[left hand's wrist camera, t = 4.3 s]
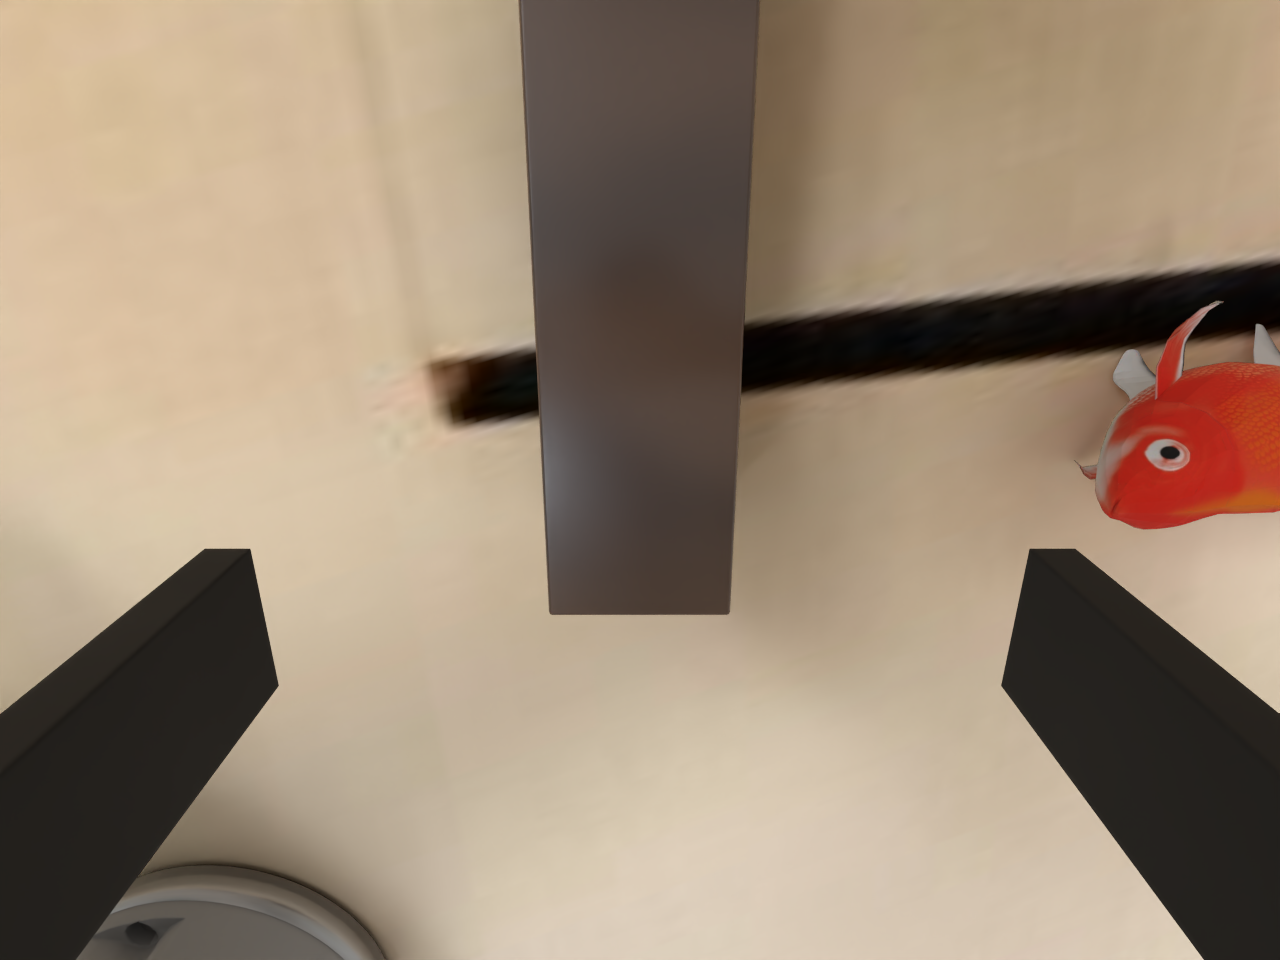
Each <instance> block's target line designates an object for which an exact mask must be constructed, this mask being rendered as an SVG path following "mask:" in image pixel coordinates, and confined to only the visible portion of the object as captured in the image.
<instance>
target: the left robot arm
mask: <svg viewBox="0 0 1280 960" xmlns="http://www.w3.org/2000/svg"><path fill="white" fill-rule="evenodd" d="M278 686H279V685H278V680H277V675H276V670H275V666H274V661H273V656H272V651H271V646H270V641H269V637H268V632H267V627H266V622H265V617H264V613H263V608H262V603H261V598H260V593H259V588H258V584H257V579H256V574H255V569H254V564H253V559H252V555H251V550H250V549H204V550H203V551H202V552H200V553H199V554H198V555H197V556H195V557H194V558H193V559H192V560H190V561H189V562H188V563H187V564H185V565H184V566H183V567H182V568H181V569H179V570H178V571H177V572H176V573H174V574H173V575H172V576H171V577H169V578H168V579H167V580H166V581H164V582H163V583H162V584H161V585H160V586H158V587H157V588H156V589H155V590H153V591H152V592H151V593H150V594H148V595H147V596H146V597H145V598H143V599H142V600H141V601H140V602H138V603H137V604H136V605H135V606H134V607H132V608H131V609H130V610H129V611H127V612H126V613H125V614H124V615H122V616H121V617H120V618H119V619H117V620H116V621H115V622H114V623H112V624H111V625H110V626H109V627H108V628H106V629H105V630H104V631H103V632H101V633H100V634H99V635H98V636H96V637H95V638H94V639H93V640H91V641H90V642H89V643H88V644H86V645H85V646H84V647H83V648H82V649H80V650H79V651H78V652H77V653H75V654H74V655H73V656H72V657H70V658H69V659H68V660H67V661H65V662H64V663H63V664H62V665H61V666H59V667H58V668H57V669H56V670H54V671H53V672H52V673H51V674H49V675H48V676H47V677H46V678H44V679H43V680H42V681H41V682H39V683H38V684H37V685H36V686H35V687H33V688H32V689H31V690H30V691H28V692H27V693H26V694H25V695H23V696H22V697H21V698H20V699H18V700H17V701H16V702H15V703H13V704H12V705H11V706H10V707H9V708H7V709H6V710H5V711H4V712H2V713H1V714H0V960H385V958H384V956H383V954H382V952H381V950H380V949H379V947H378V946H377V944H376V942H375V941H374V940H373V939H372V937H371V936H370V935H369V933H368V932H367V931H366V930H365V929H364V928H363V927H362V926H361V925H360V924H359V923H358V922H357V921H356V920H355V919H354V918H353V917H352V916H350V915H349V914H348V913H347V912H346V911H344V910H343V909H342V908H340V907H339V906H337V905H336V904H335V903H333V902H332V901H330V900H328V899H327V898H325V897H323V896H322V895H320V894H318V893H316V892H314V891H312V890H310V889H308V888H306V887H304V886H302V885H299V884H297V883H295V882H292V881H289V880H287V879H284V878H281V877H278V876H275V875H271V874H267V873H264V872H260V871H255V870H250V869H245V868H238V867H230V866H216V865H195V866H183V867H176V868H170V869H164V870H160V871H156V872H152V873H149V874H146V875H143V876H141V877H138V875H139V874H140V873H141V871H142V870H143V868H144V867H145V866H146V864H147V863H148V862H149V860H150V859H151V858H152V856H153V855H154V854H155V852H156V851H157V850H158V848H159V847H160V845H161V844H162V843H163V841H164V840H165V839H166V837H167V836H168V835H169V833H170V832H171V831H172V829H173V828H174V827H175V825H176V824H177V823H178V821H179V820H180V818H181V817H182V816H183V814H184V813H185V812H186V810H187V809H188V808H189V806H190V805H191V804H192V802H193V801H194V800H195V798H196V797H197V795H198V794H199V793H200V791H201V790H202V789H203V787H204V786H205V785H206V783H207V782H208V781H209V779H210V778H211V777H212V775H213V774H214V772H215V771H216V770H217V768H218V767H219V766H220V764H221V763H222V762H223V760H224V759H225V758H226V756H227V755H228V754H229V752H230V751H231V749H232V748H233V747H234V745H235V744H236V743H237V741H238V740H239V739H240V737H241V736H242V735H243V733H244V732H245V731H246V729H247V728H248V727H249V725H250V724H251V722H252V721H253V720H254V718H255V717H256V716H257V714H258V713H259V712H260V710H261V709H262V708H263V706H264V705H265V704H266V702H267V701H268V699H269V698H270V697H271V695H272V694H273V693H274V691H275V690H276V689H277V687H278ZM1001 686H1002V687H1003V689H1004V690H1005V691H1006V693H1007V694H1008V695H1009V697H1010V698H1011V699H1012V701H1013V702H1014V704H1015V705H1016V706H1017V708H1018V709H1019V710H1020V712H1021V713H1022V714H1023V716H1024V717H1025V718H1026V720H1027V721H1028V722H1029V724H1030V725H1031V727H1032V728H1033V729H1034V731H1035V732H1036V733H1037V735H1038V736H1039V737H1040V739H1041V740H1042V741H1043V743H1044V744H1045V745H1046V747H1047V748H1048V749H1049V751H1050V752H1051V754H1052V755H1053V756H1054V758H1055V759H1056V760H1057V762H1058V763H1059V764H1060V766H1061V767H1062V768H1063V770H1064V771H1065V772H1066V774H1067V775H1068V777H1069V778H1070V779H1071V781H1072V782H1073V783H1074V785H1075V786H1076V787H1077V789H1078V790H1079V791H1080V793H1081V794H1082V795H1083V797H1084V798H1085V800H1086V801H1087V802H1088V804H1089V805H1090V806H1091V808H1092V809H1093V810H1094V812H1095V813H1096V814H1097V816H1098V817H1099V818H1100V820H1101V821H1102V823H1103V824H1104V825H1105V827H1106V828H1107V829H1108V831H1109V832H1110V833H1111V835H1112V836H1113V837H1114V839H1115V840H1116V841H1117V843H1118V844H1119V845H1120V847H1121V848H1122V850H1123V851H1124V852H1125V854H1126V855H1127V856H1128V858H1129V859H1130V860H1131V862H1132V863H1133V864H1134V866H1135V867H1136V868H1137V870H1138V871H1139V873H1140V874H1141V875H1142V877H1143V878H1144V879H1145V881H1146V882H1147V883H1148V885H1149V886H1150V887H1151V889H1152V890H1153V891H1154V893H1155V894H1156V896H1157V897H1158V898H1159V900H1160V901H1161V902H1162V904H1163V905H1164V906H1165V908H1166V909H1167V910H1168V912H1169V913H1170V914H1171V916H1172V917H1173V918H1174V920H1175V921H1176V923H1177V924H1178V925H1179V927H1180V928H1181V929H1182V931H1183V932H1184V933H1185V935H1186V936H1187V937H1188V939H1189V940H1190V941H1191V943H1192V944H1193V946H1194V947H1195V948H1196V950H1197V951H1198V952H1199V954H1200V955H1201V956H1202V958H1203V959H1204V960H1280V713H1278V712H1276V711H1275V710H1274V709H1273V708H1271V707H1270V706H1269V705H1268V704H1267V703H1265V702H1264V701H1263V700H1262V699H1260V698H1259V697H1258V696H1257V695H1255V694H1254V693H1253V692H1252V691H1250V690H1249V689H1248V688H1247V687H1245V686H1244V685H1243V684H1242V683H1241V682H1239V681H1238V680H1237V679H1236V678H1234V677H1233V676H1232V675H1231V674H1229V673H1228V672H1227V671H1226V670H1224V669H1223V668H1222V667H1221V666H1219V665H1218V664H1217V663H1216V662H1215V661H1213V660H1212V659H1211V658H1210V657H1208V656H1207V655H1206V654H1205V653H1203V652H1202V651H1201V650H1200V649H1198V648H1197V647H1196V646H1195V645H1194V644H1192V643H1191V642H1190V641H1189V640H1187V639H1186V638H1185V637H1184V636H1182V635H1181V634H1180V633H1179V632H1177V631H1176V630H1175V629H1174V628H1172V627H1171V626H1170V625H1169V624H1168V623H1166V622H1165V621H1164V620H1163V619H1161V618H1160V617H1159V616H1158V615H1156V614H1155V613H1154V612H1153V611H1151V610H1150V609H1149V608H1148V607H1146V606H1145V605H1144V604H1143V603H1142V602H1140V601H1139V600H1138V599H1137V598H1135V597H1134V596H1133V595H1132V594H1130V593H1129V592H1128V591H1127V590H1125V589H1124V588H1123V587H1122V586H1120V585H1119V584H1118V583H1117V582H1116V581H1114V580H1113V579H1112V578H1111V577H1109V576H1108V575H1107V574H1106V573H1104V572H1103V571H1102V570H1101V569H1099V568H1098V567H1097V566H1096V565H1095V564H1093V563H1092V562H1091V561H1090V560H1088V559H1087V558H1086V557H1085V556H1083V555H1082V554H1081V553H1080V552H1078V551H1077V550H1076V549H1030V550H1029V555H1028V559H1027V564H1026V569H1025V574H1024V579H1023V584H1022V588H1021V593H1020V598H1019V603H1018V608H1017V613H1016V617H1015V622H1014V627H1013V632H1012V637H1011V641H1010V646H1009V651H1008V656H1007V661H1006V666H1005V670H1004V675H1003V680H1002V685H1001ZM137 877H138V878H137Z"/></svg>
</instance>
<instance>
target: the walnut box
mask: <svg viewBox="0 0 1280 960" xmlns="http://www.w3.org/2000/svg"><path fill="white" fill-rule="evenodd" d="M759 15H760V0H519V19H520V39H521V59H522V79H523V99H524V119H525V139H526V159H527V179H528V199H529V219H530V239H531V259H532V279H533V299H534V319H535V339H536V359H537V379H538V399H539V419H540V439H541V459H542V479H543V499H544V519H545V539H546V559H547V579H548V599H549V612H550V614H552V615H727V614H729V612H730V601H731V580H732V560H733V540H734V520H735V499H736V479H737V459H738V439H739V419H740V398H741V378H742V358H743V338H744V318H745V297H746V277H747V257H748V237H749V217H750V196H751V176H752V156H753V136H754V116H755V95H756V75H757V55H758V35H759Z"/></svg>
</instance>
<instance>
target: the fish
mask: <svg viewBox="0 0 1280 960" xmlns="http://www.w3.org/2000/svg"><path fill="white" fill-rule="evenodd" d="M1223 302H1224V301H1215V302H1213V303H1212V304H1210V305H1209V306H1206V307H1203V308H1201V309H1200V310H1198V311H1197V312H1196V313H1195V314H1194V315H1193V316H1192V317H1190V318H1189V319H1188V320H1186V321H1185V322H1184V323H1183V324H1181V325H1180V326H1179V327H1178V328H1177V329H1175V331H1174V332H1173V333H1172V335H1171V336H1170V337H1169V339H1168V340H1167V342H1166V346H1165V348H1164V351H1163V353H1162V356H1161V358H1160V360H1159V362H1158V365H1157V367H1156V376H1155V375H1154V374H1153V373H1152V372H1151V371H1150V370H1149V368H1148V367H1147V366H1146V364H1145V362H1144V361H1143V359H1142V357H1141V355H1140V353H1139V352H1138V351H1137V350H1133V349H1131V350H1127V351H1126V352H1125V353H1124V354H1123V356H1122V357H1121V359H1120V361H1119V363H1118V365H1117V367H1116V369H1115V371H1114V373H1113V381H1114V382H1115V384H1116V385H1117V386H1118V387H1120V388H1121V389H1122V390H1124V391H1125V392H1126V393H1127V395H1128V396H1129V399H1130V401H1129V402H1128V403H1127V404H1126V405H1125V406H1124V407H1123V408H1122V409H1121V410H1120V411H1119V413H1118V414H1117V415H1116V417H1115V418H1114V419H1113V421H1112V423H1111V425H1110V427H1109V429H1108V431H1107V434H1106V437H1105V440H1104V443H1103V446H1102V449H1101V452H1100V456H1099V461H1098V465H1092V466H1086V467H1081V466H1080V465H1079V464H1078V463H1077V462H1076V461H1075V460H1074V461H1075V462H1076V463H1077V464H1078V466H1079V467H1080V468H1081V470H1082V472H1083V474H1084V475H1085V476H1087V477H1088V478H1089V479H1096V483H1095V492H1096V496H1097V499H1098V501H1099V503H1100V506H1101V508H1102V510H1103V511H1104V513H1105V514H1107V515H1108V516H1109V517H1110V518H1112V519H1116V520H1120V521H1123V522H1125V523H1127V524H1129V525H1130V526H1132V527H1135V528H1139V529H1159V528H1168V527H1175V526H1179V525H1183V524H1187V523H1190V522H1193V521H1196V520H1199V519H1202V518H1205V517H1209V516H1212V515H1216V514H1238V513H1267V512H1276V511H1280V352H1279V351H1278V349H1277V348H1276V346H1275V344H1274V343H1273V341H1272V340H1271V338H1270V336H1269V334H1268V333H1267V331H1266V329H1265V328H1264V326H1263V325H1260V324H1256V331H1255V341H1254V362H1255V363H1242V362H1226V363H1219V364H1213V365H1208V366H1203V367H1197V368H1193V369H1189V370H1185V371H1183V366H1184V352H1185V344H1186V342H1187V340H1188V338H1189V336H1190V334H1191V333H1192V331H1193V330H1194V329H1195V327H1196V326H1197V325H1198V323H1199V322H1200V321H1201V320H1202V318H1203V317H1204V316H1205V314H1206V313H1207V312H1208V311H1209V310H1210V309H1212V308H1213V307H1215V306H1217V305H1218V304H1222V303H1223Z"/></svg>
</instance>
